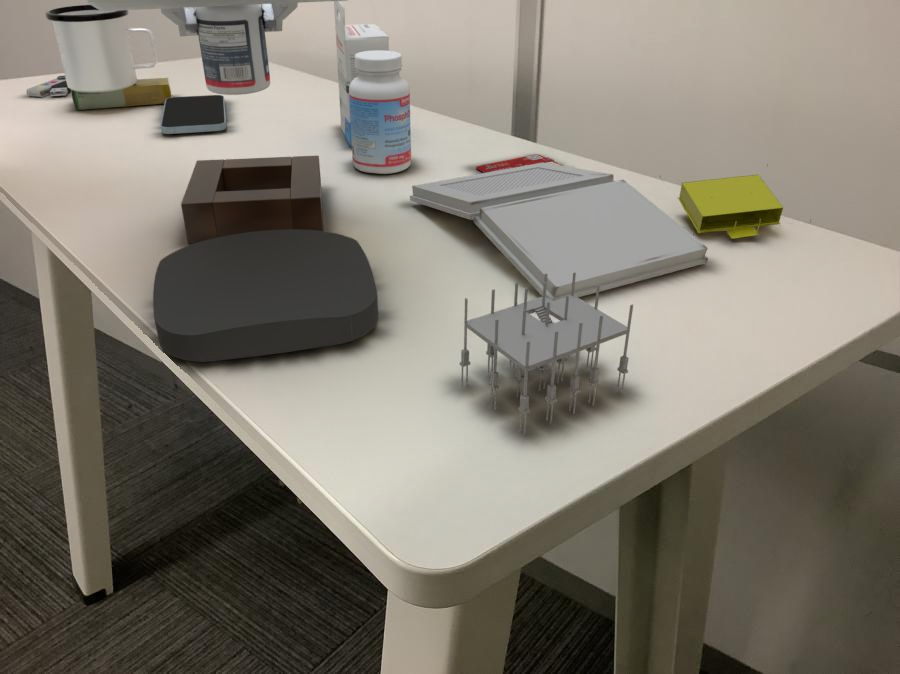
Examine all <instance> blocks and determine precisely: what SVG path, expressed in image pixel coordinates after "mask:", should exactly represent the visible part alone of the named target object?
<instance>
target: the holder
mask: <svg viewBox="0 0 900 674" xmlns="http://www.w3.org/2000/svg"><path fill="white" fill-rule="evenodd" d="M321 178H322V177H321V165H320V156H319V155H299V156H297V155H295V156H294V155H293V156H275V157H273V156H272V157H271V156H270V157H248V158H225V159H202V160H201V159H200V160H199V159H198V160H196V162H195V164H194V168H193V170H192V173H191V176H190V178H189V181H188V184H187V187H186V189H185V192H184V195H183V197H182V201H181V203H180V207H181V212H182V219H183V223H184V230H185V235H186V240H187V244H195V243H198V242H201V241H205V240H209V239H213V238H218V237H222V236H228V235H233V234H240V233H247V232H255V231H266V230H286V229H301V230H318V231H325V229H324V213H323V212H324V211H323V210H324V209H323V193H322V192H323V191H322V190H323V189H322V179H321Z"/></svg>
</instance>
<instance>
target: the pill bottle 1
mask: <svg viewBox="0 0 900 674" xmlns="http://www.w3.org/2000/svg"><path fill="white" fill-rule="evenodd" d="M195 13H196V19H197V25H198V34H199V35H197V36H198V43H199V49H200V56H201V60H202V68H203V74H204V75H203V76H204V81H205V86H206V88H207V90H208V91H209V92H211V93H213V94H216V95H223V96H225V95H227V96H238V95H239V96H240V95H249V94H255V93H258V92H262V91H264V90H267V89H268V88H269V87H270V86H271V74H270V65H269V64H270V63H269V57H268V56H269V55H268V47H267V39H266V32H265V31H264V22H263V15H262V10H261V5H260V4H255V5H232V6H209V7H195Z"/></svg>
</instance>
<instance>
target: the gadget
mask: <svg viewBox="0 0 900 674" xmlns="http://www.w3.org/2000/svg"><path fill="white" fill-rule="evenodd" d="M561 165H562V164H561ZM561 165H555V164H549V163H537V164H532V165H526V166H521V167H515V168H509V169H504V170H498V171H493V172H487V173H484V172H482V173H477V174H472V175H466V176H460V177H454V178H448V179H443V180H437V181H432V182H426V183H420V184H415V185H412V186H411V189H412V194H411V195H409V201H410V202H413V203H416V204H419V205H423V206H426V207H429V208H432V209H434V210H435V209H436V210H437V211H442V212H444V213H448V214H450V215H453V216H457V217H460V218H463V219H466V220H469V221H473V223H474V224H475V226H476V227H478V229H479V230H480V231H481V232H482V233H483V234H484V235H485V236H486V237H487V238H488V239H489V241H490V242H491V243H492V244H493V245H494V246H495V247H496V248H497V249H498V250H499V251H500V253H502V255H504V257H505V258H506V259H507V260H508V261H509V262H510V263H511V264H512V265H513V267H515V269H516V270H517V271H518V272H519V273H520V274H521V275H522V276H523V277H524V278H525V279H526V281H528V283H529V284H530V285H531V286H532V287H533V288H534V289H535V290H536V291H537V292H538V294H540V295H541V297H543V285H544V276H545V274H546V273H547V287H546V297H548V298H550V299H551V300H553V301H555V300H558V299H561V298H564V297H566V295H568V296H571V290H572V279H573V273H574V272H576V277H575V288H574V296H576V297H578V298H581V297H585V296H588V295H592V294H596V290H597V285H599V286H600V289H599V293H601V292H605V291H607V290H612V289H616V288H619V287H622V286H626V285H629V284H633V283H638V282H641V281H645V280H648V279H652V278H656V277H661V276H663V275H667V274H671V273H675V272H678V271H682V270H686V269H690V268H692V267H697V266H701V265H704V264H707V263H708V260H709V257H708V256H707V255H706V253H707V251H708V249H709V248H708V246H706V245H705V244H704V243H703V242H701V241H700V240H699V239H698V238H696V237H695V235H694V236H693V234H691V232H689V231H687V229H685V228H684V227H683V226H682V225H681V224H679V223H678V222H676V221H675V220H674V219H673V218H672V217H671V216H670V215H668V214H667V213H665V212H664V211H663V210H662V209H660V208H659V207H658V206H657V205H656V204H654V203H653V202H652V201H651V200H650V199H648V198H647V197H646V196H645V195H643V194H642V193H641V192H639V190H637V189H636V188H635V187H633V185H631V184H630V183H629V182H627V181H626V180H624V179H619V180H614V174H612V173H607V172H600V171H595V170H589V169H583V168H577V167H572V166H565V165H563V166H561Z"/></svg>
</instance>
